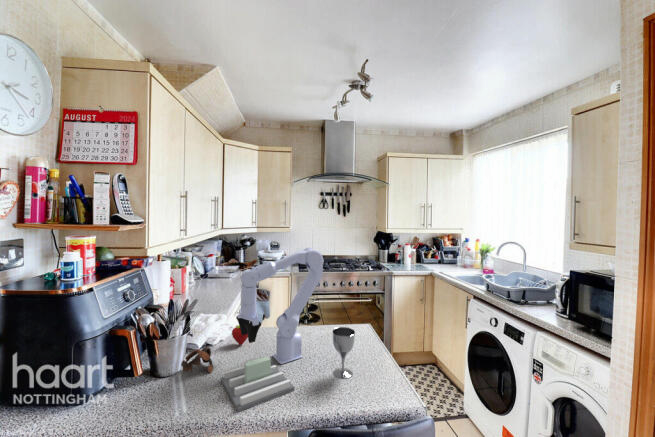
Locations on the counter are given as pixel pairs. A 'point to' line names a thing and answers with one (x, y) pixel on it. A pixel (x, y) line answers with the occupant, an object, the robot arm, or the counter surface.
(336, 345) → the wine glass
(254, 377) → the mint green upright block
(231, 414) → the counter surface
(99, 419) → the counter surface
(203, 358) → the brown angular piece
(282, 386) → the rack
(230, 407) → the counter surface
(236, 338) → the strawberry
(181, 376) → the counter surface
